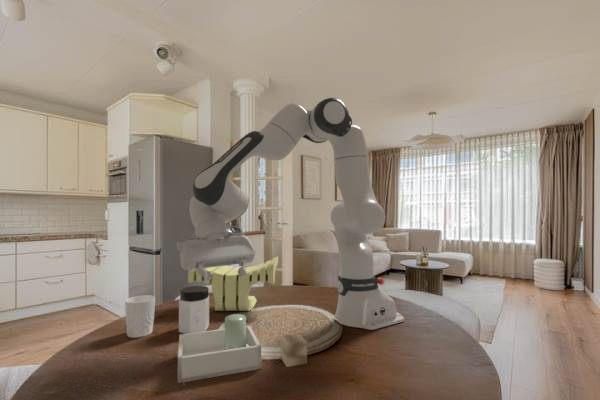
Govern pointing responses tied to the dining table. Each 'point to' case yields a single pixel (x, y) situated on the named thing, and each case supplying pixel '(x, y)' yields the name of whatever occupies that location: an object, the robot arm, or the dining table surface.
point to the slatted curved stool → (235, 284)
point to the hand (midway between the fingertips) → (226, 277)
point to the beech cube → (293, 350)
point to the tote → (215, 355)
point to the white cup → (139, 315)
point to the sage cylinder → (235, 331)
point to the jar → (193, 309)
